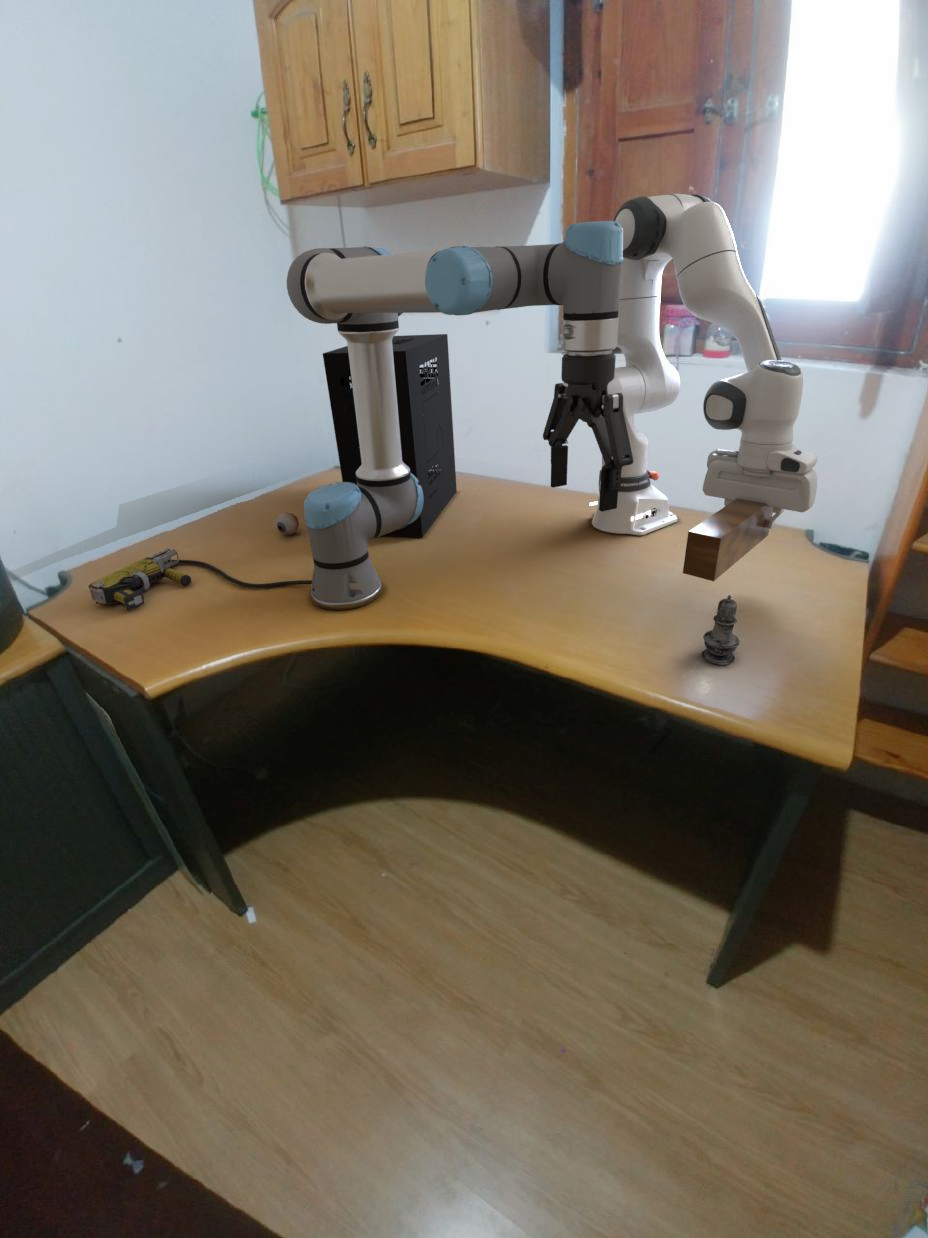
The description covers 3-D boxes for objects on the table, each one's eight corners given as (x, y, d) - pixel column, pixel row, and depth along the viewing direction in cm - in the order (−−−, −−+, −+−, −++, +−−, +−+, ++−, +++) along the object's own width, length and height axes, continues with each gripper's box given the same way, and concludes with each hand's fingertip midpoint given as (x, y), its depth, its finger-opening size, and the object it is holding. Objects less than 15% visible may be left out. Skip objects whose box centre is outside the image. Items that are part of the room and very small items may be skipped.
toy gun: (215, 556, 146) (165, 546, 150) (137, 598, 126) (82, 584, 130) (218, 574, 148) (168, 563, 152) (142, 617, 128) (87, 603, 132)
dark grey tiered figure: (739, 667, 101) (752, 604, 95) (702, 664, 102) (713, 602, 96) (733, 648, 106) (745, 587, 100) (697, 646, 107) (708, 585, 101)
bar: (739, 529, 126) (746, 491, 122) (768, 535, 122) (776, 496, 118) (682, 573, 109) (688, 531, 105) (713, 581, 106) (720, 538, 102)
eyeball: (273, 537, 164) (268, 516, 161) (287, 528, 169) (282, 508, 166) (291, 539, 161) (286, 518, 158) (305, 530, 166) (301, 510, 163)
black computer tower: (422, 537, 158) (405, 350, 135) (350, 534, 162) (322, 353, 140) (456, 491, 189) (447, 333, 167) (395, 489, 194) (378, 336, 171)
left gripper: (522, 347, 94) (522, 480, 105) (622, 363, 74) (610, 526, 85) (563, 343, 96) (559, 473, 107) (670, 357, 77) (653, 515, 87)
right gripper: (702, 451, 118) (693, 518, 125) (816, 466, 106) (799, 539, 112) (715, 444, 122) (706, 509, 129) (827, 457, 109) (809, 529, 116)
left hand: (581, 497), depth 96 cm, fingers open, 13 cm apart
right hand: (750, 523), depth 120 cm, fingers closed on bar, 6 cm apart
